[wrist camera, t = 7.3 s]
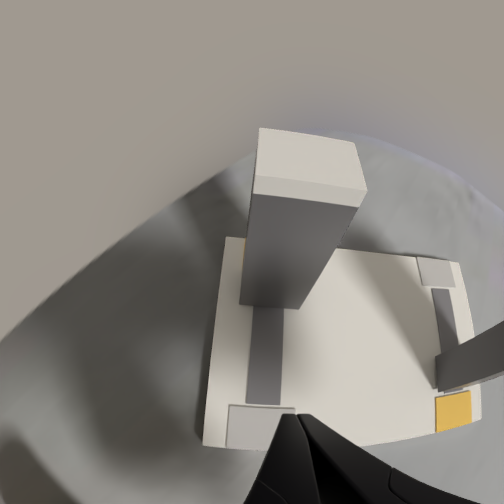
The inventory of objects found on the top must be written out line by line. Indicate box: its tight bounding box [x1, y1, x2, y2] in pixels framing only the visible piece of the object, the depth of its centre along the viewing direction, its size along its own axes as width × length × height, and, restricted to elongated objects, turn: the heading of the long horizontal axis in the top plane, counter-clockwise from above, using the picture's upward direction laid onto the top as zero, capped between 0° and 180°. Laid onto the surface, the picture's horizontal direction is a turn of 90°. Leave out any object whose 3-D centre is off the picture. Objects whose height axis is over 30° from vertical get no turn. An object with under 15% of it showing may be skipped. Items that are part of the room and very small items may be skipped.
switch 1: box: [239, 128, 367, 310], centre depth 14 cm, size 2×4×10 cm
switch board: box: [202, 237, 481, 451], centre depth 17 cm, size 13×19×1 cm
